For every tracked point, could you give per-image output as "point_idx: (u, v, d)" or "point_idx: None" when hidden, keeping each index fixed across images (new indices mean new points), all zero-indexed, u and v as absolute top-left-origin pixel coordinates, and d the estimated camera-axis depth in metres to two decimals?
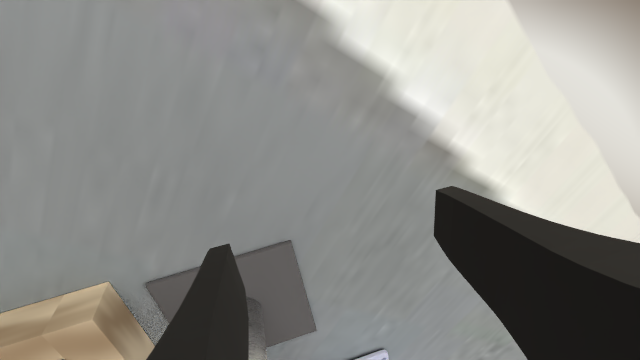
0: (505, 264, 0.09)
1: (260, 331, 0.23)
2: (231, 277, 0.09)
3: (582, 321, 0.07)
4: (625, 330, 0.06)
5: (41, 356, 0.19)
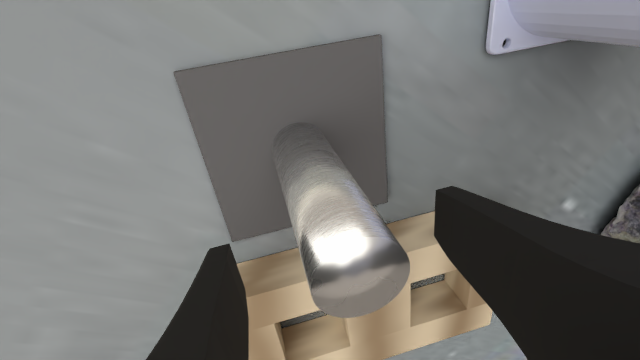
0: (505, 264, 0.09)
1: (292, 146, 0.15)
2: (231, 277, 0.09)
3: (582, 321, 0.07)
4: (625, 330, 0.06)
5: (266, 335, 0.20)
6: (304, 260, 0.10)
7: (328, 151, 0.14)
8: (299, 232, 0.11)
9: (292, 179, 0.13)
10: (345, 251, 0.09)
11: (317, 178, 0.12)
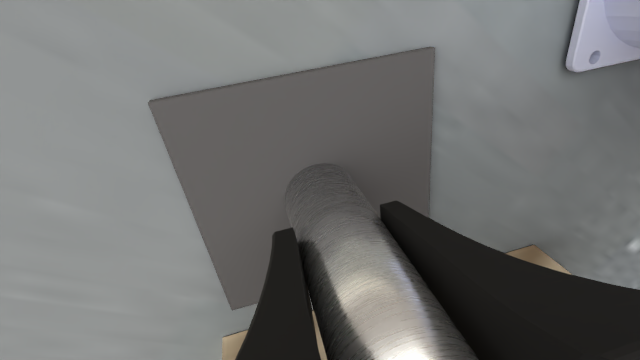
0: (435, 285, 0.08)
1: (317, 207, 0.11)
2: (300, 258, 0.10)
3: (494, 351, 0.06)
4: None
5: None
6: None
7: (370, 217, 0.10)
8: None
9: (322, 270, 0.09)
10: None
11: (366, 280, 0.08)
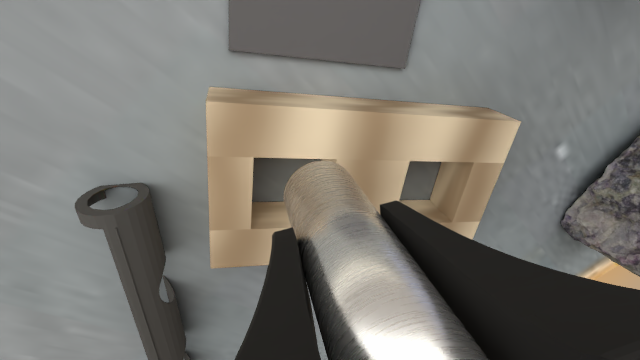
0: (435, 285, 0.08)
1: (317, 200, 0.11)
2: (300, 258, 0.10)
3: (494, 351, 0.06)
4: None
5: (239, 172, 0.17)
6: None
7: (370, 211, 0.10)
8: None
9: (321, 259, 0.09)
10: None
11: (366, 268, 0.07)
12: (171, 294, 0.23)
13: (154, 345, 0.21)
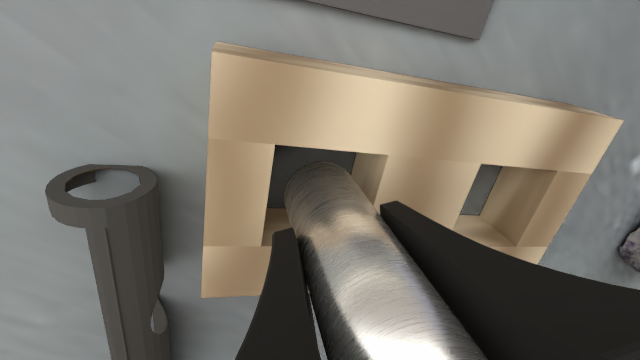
0: (435, 285, 0.08)
1: (317, 201, 0.11)
2: (300, 258, 0.10)
3: (494, 351, 0.06)
4: None
5: (253, 165, 0.12)
6: None
7: (369, 211, 0.10)
8: None
9: (321, 260, 0.09)
10: None
11: (366, 269, 0.07)
12: (161, 319, 0.17)
13: None
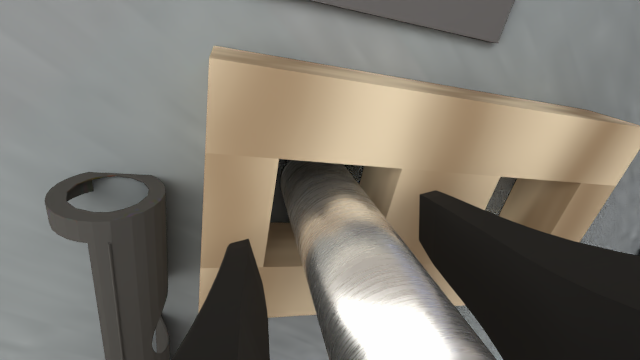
0: (485, 270, 0.09)
1: (309, 182, 0.12)
2: (252, 271, 0.09)
3: (557, 330, 0.07)
4: (596, 340, 0.06)
5: (255, 181, 0.11)
6: None
7: (357, 190, 0.11)
8: (327, 319, 0.07)
9: (312, 229, 0.10)
10: None
11: (350, 233, 0.08)
12: (162, 335, 0.16)
13: None
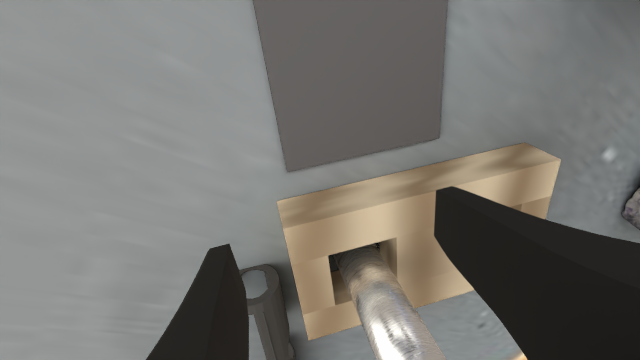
0: (505, 264, 0.09)
1: (348, 259, 0.21)
2: (231, 277, 0.09)
3: (582, 321, 0.07)
4: (625, 330, 0.06)
5: (319, 268, 0.20)
6: None
7: (374, 261, 0.20)
8: (371, 343, 0.17)
9: (355, 294, 0.19)
10: None
11: (373, 298, 0.18)
12: None
13: None
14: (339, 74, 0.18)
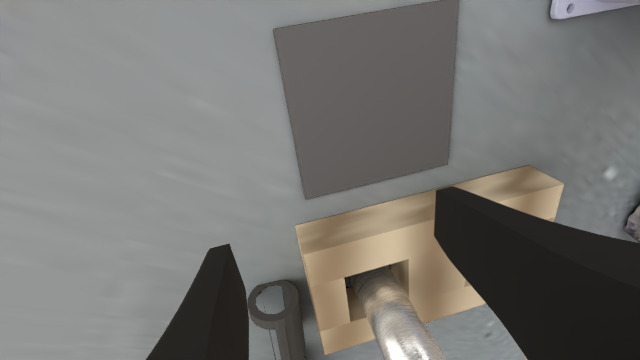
0: (505, 264, 0.09)
1: (362, 280, 0.22)
2: (231, 277, 0.09)
3: (582, 321, 0.07)
4: (625, 330, 0.06)
5: (335, 289, 0.22)
6: None
7: (388, 282, 0.21)
8: None
9: (371, 314, 0.20)
10: None
11: (388, 319, 0.19)
12: None
13: None
14: (355, 110, 0.19)
